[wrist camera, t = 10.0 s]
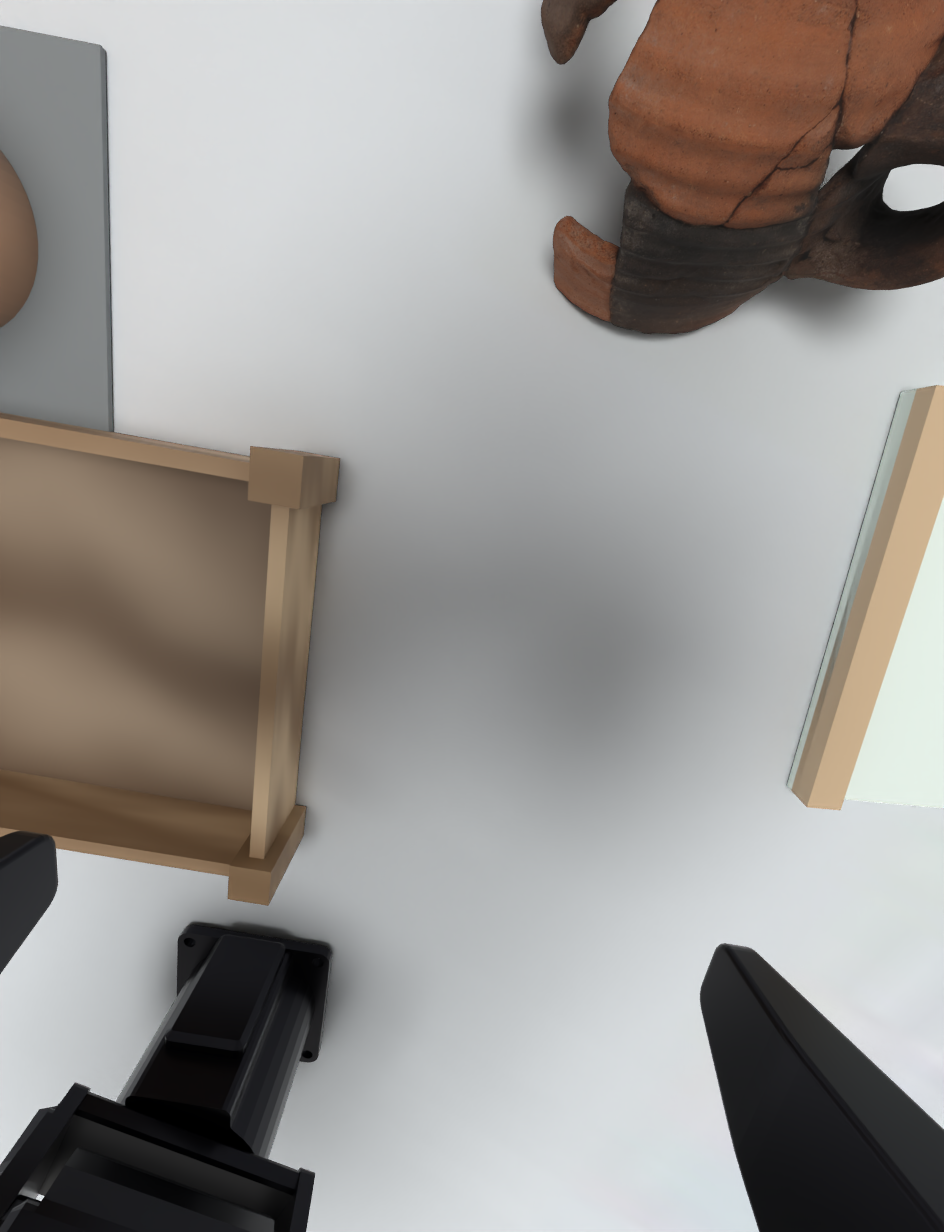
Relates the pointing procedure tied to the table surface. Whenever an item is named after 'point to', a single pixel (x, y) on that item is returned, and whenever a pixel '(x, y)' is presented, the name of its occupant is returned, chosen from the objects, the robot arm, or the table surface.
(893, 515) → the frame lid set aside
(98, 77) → the slate mat
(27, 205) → the terracotta pot
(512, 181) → the table surface
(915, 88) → the brown creature figurine
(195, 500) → the brown wooden tray
